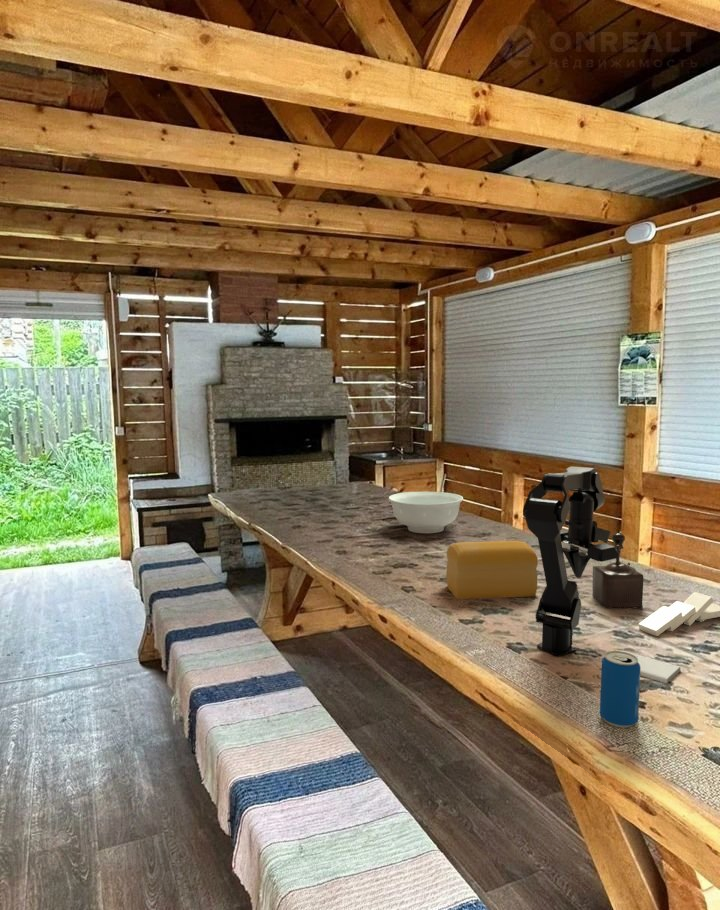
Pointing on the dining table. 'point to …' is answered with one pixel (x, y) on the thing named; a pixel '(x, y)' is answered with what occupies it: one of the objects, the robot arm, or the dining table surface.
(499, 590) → the bread
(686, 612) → the domino
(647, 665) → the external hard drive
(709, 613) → the domino
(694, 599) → the domino
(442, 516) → the bowl
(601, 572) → the dark brown boxy piece
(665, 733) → the dining table surface
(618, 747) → the dining table surface
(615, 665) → the beverage can
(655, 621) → the domino
